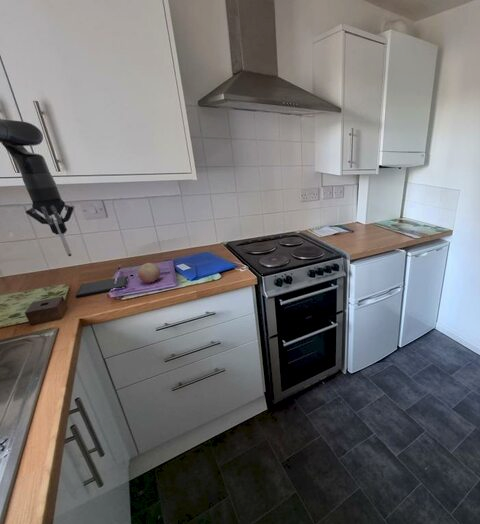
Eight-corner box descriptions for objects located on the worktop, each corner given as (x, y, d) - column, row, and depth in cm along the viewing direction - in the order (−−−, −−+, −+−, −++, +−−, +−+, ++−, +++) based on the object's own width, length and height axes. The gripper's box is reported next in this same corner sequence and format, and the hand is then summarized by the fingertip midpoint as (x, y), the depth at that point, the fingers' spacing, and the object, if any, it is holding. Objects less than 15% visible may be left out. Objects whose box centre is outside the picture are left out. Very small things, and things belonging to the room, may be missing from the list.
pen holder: (30, 325, 100) (24, 312, 98) (38, 313, 106) (32, 301, 104) (62, 318, 103) (56, 306, 101) (68, 308, 110) (62, 296, 108)
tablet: (76, 298, 116) (75, 295, 116) (82, 286, 125) (81, 284, 124) (126, 288, 123) (125, 285, 123) (128, 278, 132) (127, 275, 132)
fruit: (136, 283, 128) (131, 266, 125) (155, 275, 134) (150, 259, 131) (148, 287, 124) (142, 269, 121) (166, 279, 131) (161, 262, 128)
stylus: (67, 256, 113) (52, 220, 108) (68, 255, 114) (53, 220, 108) (71, 256, 114) (57, 220, 108) (72, 255, 115) (58, 219, 109)
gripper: (9, 189, 97) (32, 239, 104) (63, 185, 103) (82, 233, 110) (18, 185, 103) (39, 233, 110) (69, 182, 109) (86, 228, 116)
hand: (60, 233), depth 110 cm, fingers closed on stylus, 1 cm apart
